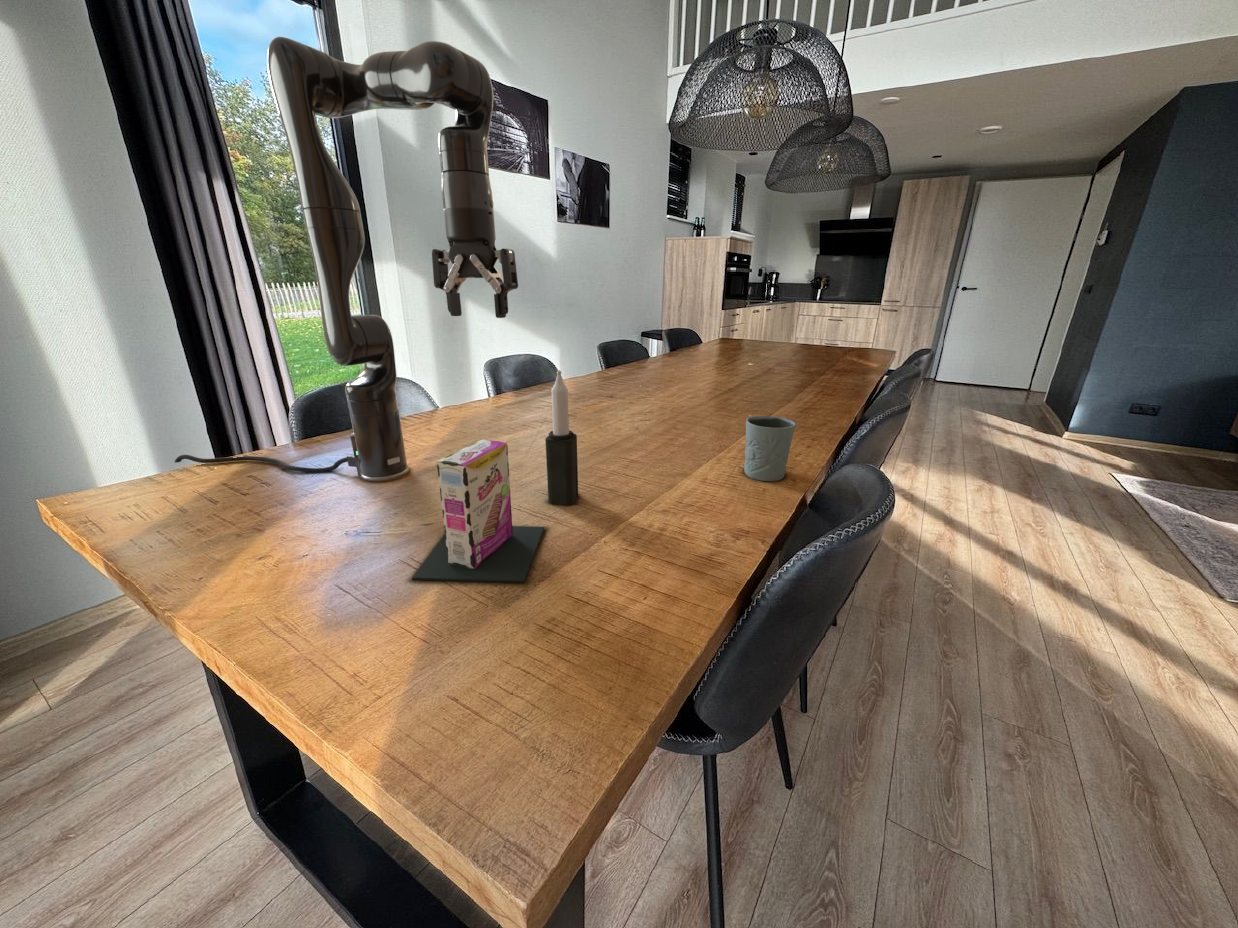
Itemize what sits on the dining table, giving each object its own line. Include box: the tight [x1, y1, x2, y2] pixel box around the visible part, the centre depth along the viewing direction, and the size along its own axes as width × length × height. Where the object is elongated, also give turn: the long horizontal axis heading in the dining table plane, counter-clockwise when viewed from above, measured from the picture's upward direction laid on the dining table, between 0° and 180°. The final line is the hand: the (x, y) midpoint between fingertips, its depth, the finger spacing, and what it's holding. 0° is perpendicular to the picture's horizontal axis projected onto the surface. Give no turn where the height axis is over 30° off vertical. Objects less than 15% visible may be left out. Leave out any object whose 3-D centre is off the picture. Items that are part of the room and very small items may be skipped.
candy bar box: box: [435, 439, 513, 569], centre depth 74 cm, size 11×5×16 cm, turn 161°
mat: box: [411, 525, 545, 584], centre depth 77 cm, size 16×16×1 cm
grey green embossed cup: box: [743, 415, 797, 482], centre depth 106 cm, size 10×10×12 cm
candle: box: [544, 369, 579, 506], centre depth 91 cm, size 5×5×25 cm
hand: (478, 316), depth 82 cm, fingers open, 8 cm apart
